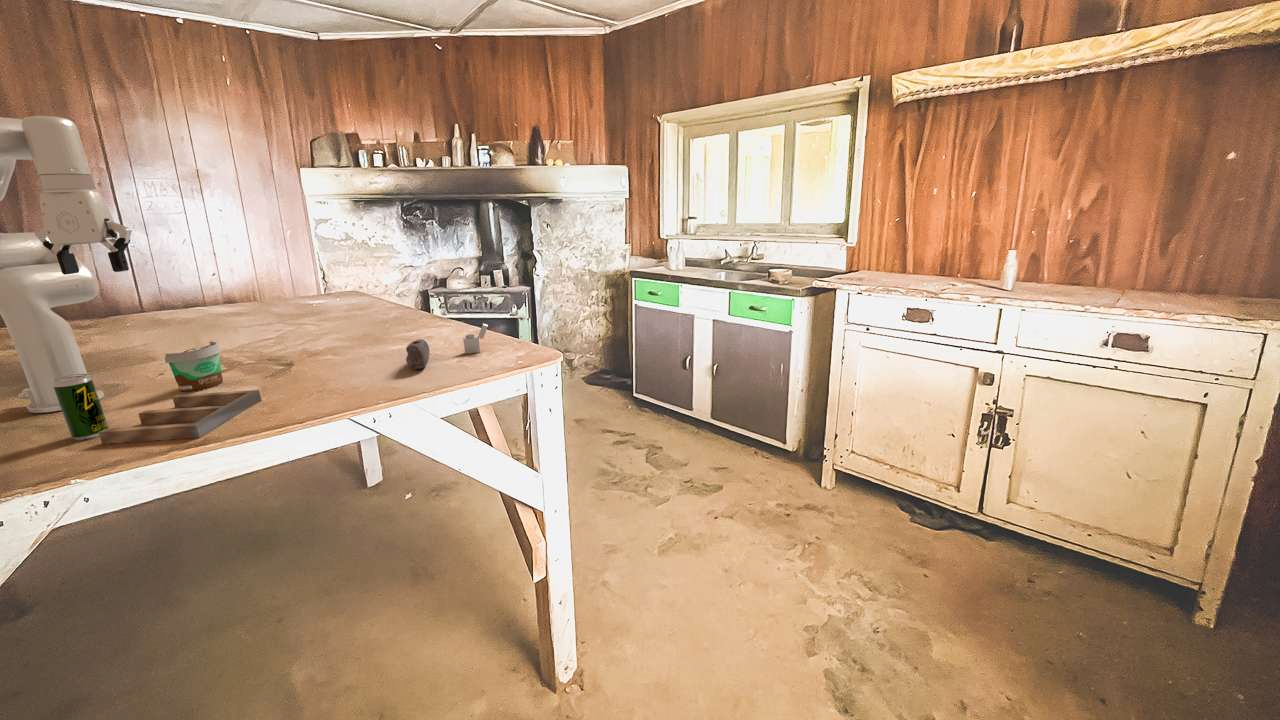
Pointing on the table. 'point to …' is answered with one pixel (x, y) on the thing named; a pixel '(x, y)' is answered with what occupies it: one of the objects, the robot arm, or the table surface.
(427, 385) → the table surface
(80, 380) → the beer can
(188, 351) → the food container
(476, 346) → the lighter
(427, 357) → the perforated stone tool
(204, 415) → the lane rack
